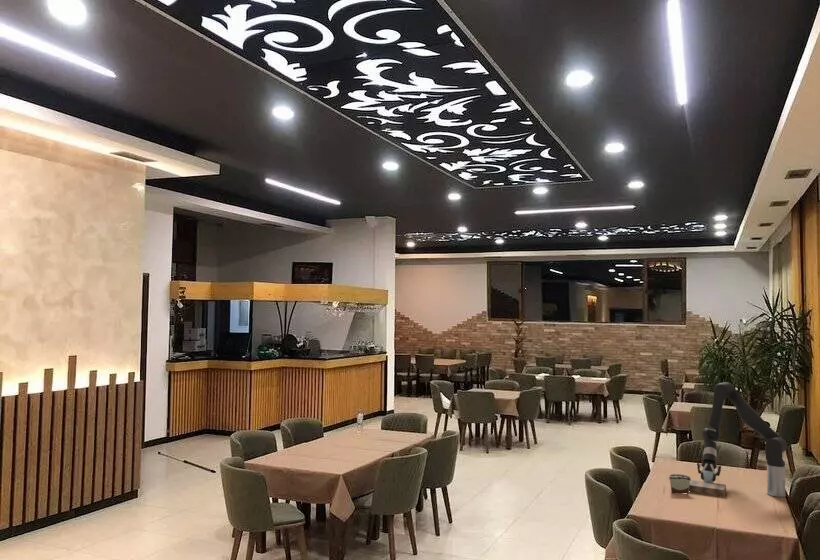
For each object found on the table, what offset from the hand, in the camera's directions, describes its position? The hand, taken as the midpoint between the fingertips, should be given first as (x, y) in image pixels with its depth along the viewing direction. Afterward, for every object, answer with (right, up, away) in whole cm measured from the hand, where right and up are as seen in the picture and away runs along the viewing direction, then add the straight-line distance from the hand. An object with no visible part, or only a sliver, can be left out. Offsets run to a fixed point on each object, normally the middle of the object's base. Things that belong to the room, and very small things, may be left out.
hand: (708, 479), depth 389 cm
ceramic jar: (+1, -4, +1) cm, 5 cm away
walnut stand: (-5, -4, -9) cm, 11 cm away
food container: (-23, -4, -13) cm, 27 cm away
